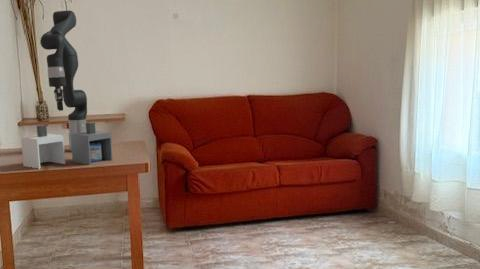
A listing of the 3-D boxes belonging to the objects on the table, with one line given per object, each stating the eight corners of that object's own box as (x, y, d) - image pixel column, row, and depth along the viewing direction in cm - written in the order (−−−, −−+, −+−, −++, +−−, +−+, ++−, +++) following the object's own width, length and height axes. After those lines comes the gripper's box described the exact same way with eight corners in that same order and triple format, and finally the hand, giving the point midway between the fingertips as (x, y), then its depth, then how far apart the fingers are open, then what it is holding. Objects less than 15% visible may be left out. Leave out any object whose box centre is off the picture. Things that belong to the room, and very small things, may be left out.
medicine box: (85, 162, 222) (83, 144, 221) (83, 161, 226) (82, 143, 225) (102, 160, 225) (101, 143, 224) (100, 159, 229) (99, 142, 228)
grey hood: (23, 166, 217) (20, 126, 214) (49, 161, 227) (46, 123, 225) (39, 169, 209) (35, 128, 206) (65, 163, 220) (62, 124, 217)
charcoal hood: (72, 161, 224) (70, 123, 222) (95, 157, 235) (93, 120, 232) (89, 164, 216) (87, 125, 214) (112, 160, 227) (110, 122, 224)
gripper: (47, 77, 229) (51, 110, 231) (48, 76, 216) (52, 111, 218) (64, 76, 232) (67, 108, 234) (65, 75, 219) (69, 110, 221)
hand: (60, 110), depth 226 cm, fingers open, 8 cm apart
